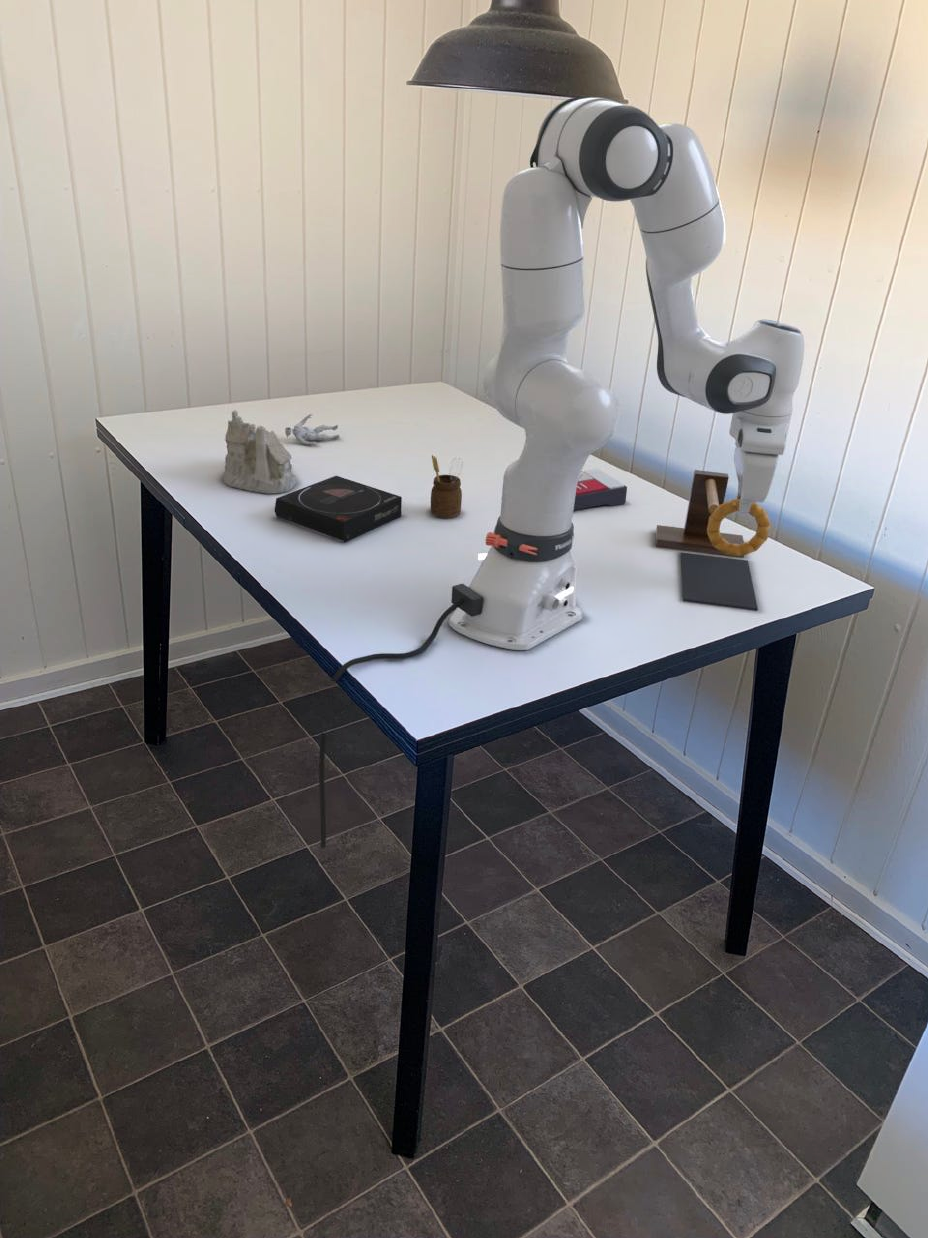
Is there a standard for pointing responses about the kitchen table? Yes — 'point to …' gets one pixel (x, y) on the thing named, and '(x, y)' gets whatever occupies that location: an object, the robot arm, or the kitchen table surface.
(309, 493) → the portable cd player
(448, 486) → the utensil holder
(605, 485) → the calculator
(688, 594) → the mat
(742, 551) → the ring
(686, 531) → the rack
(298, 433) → the soldier figure
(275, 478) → the ceramic cottage
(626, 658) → the kitchen table surface
